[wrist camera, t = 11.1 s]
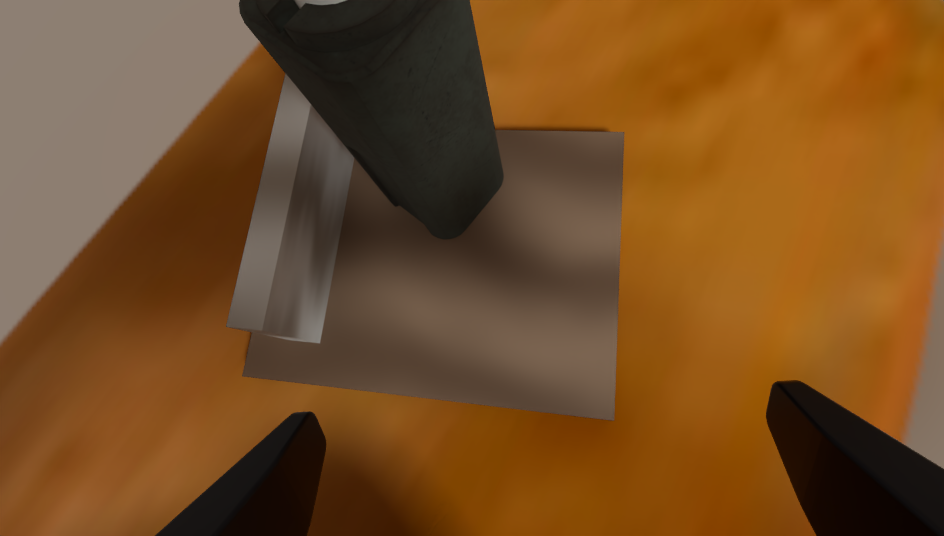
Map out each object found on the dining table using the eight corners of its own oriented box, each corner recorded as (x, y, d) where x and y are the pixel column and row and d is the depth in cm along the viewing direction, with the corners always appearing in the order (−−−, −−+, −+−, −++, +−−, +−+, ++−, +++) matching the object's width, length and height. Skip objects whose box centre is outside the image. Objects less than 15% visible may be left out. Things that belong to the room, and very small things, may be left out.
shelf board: (610, 419, 22) (634, 428, 16) (256, 377, 25) (165, 371, 19) (620, 144, 25) (643, 66, 19) (307, 137, 28) (243, 69, 22)
